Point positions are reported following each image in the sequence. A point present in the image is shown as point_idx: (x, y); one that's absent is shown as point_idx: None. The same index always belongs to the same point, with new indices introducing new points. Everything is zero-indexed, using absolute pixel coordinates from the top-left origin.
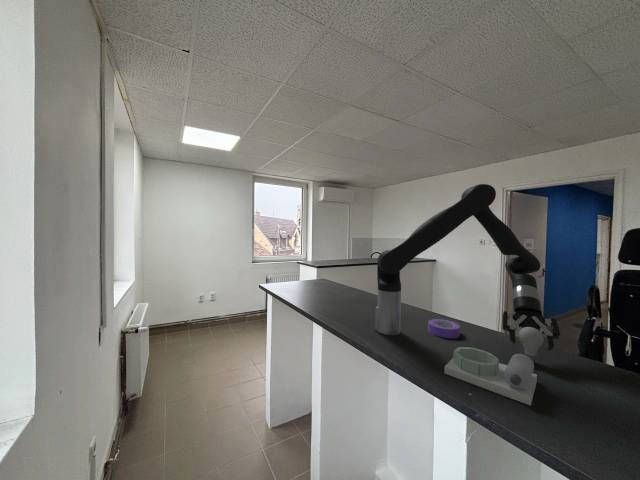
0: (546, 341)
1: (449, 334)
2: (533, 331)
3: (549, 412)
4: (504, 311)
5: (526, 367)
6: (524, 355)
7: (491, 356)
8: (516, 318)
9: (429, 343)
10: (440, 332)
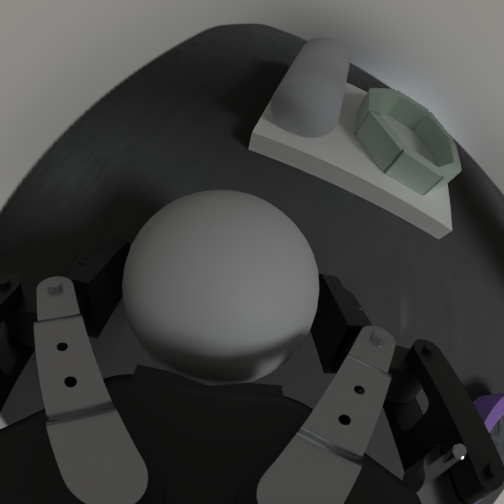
0: (106, 303)
1: (478, 406)
2: (224, 195)
3: (262, 67)
4: (500, 481)
5: (309, 50)
6: (309, 80)
7: (388, 124)
8: (376, 466)
9: (496, 307)
10: (496, 394)
